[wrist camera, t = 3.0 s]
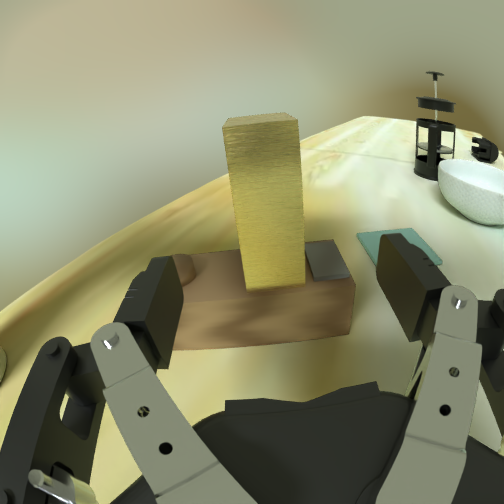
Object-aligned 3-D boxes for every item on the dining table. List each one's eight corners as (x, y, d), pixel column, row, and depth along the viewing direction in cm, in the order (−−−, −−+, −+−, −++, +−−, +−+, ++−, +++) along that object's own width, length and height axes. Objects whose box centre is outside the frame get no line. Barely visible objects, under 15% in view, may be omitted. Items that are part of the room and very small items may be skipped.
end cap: (497, 165, 61) (499, 144, 58) (478, 161, 64) (480, 140, 61) (488, 157, 69) (489, 138, 65) (470, 154, 72) (472, 134, 68)
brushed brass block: (247, 293, 20) (222, 127, 14) (246, 248, 25) (228, 117, 20) (305, 286, 20) (297, 119, 14) (293, 243, 25) (284, 112, 19)
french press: (418, 165, 60) (418, 71, 48) (453, 173, 54) (456, 77, 42) (408, 177, 53) (408, 66, 41) (450, 187, 47) (454, 72, 35)
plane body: (164, 350, 23) (138, 292, 19) (177, 300, 28) (160, 246, 25) (348, 334, 22) (357, 270, 19) (331, 285, 28) (333, 227, 24)
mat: (380, 273, 28) (380, 270, 28) (356, 236, 35) (356, 233, 35) (441, 264, 28) (442, 261, 27) (411, 230, 34) (411, 227, 34)
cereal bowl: (426, 220, 36) (432, 173, 33) (439, 188, 47) (443, 153, 43) (526, 252, 26) (540, 205, 23) (516, 211, 36) (523, 175, 33)
